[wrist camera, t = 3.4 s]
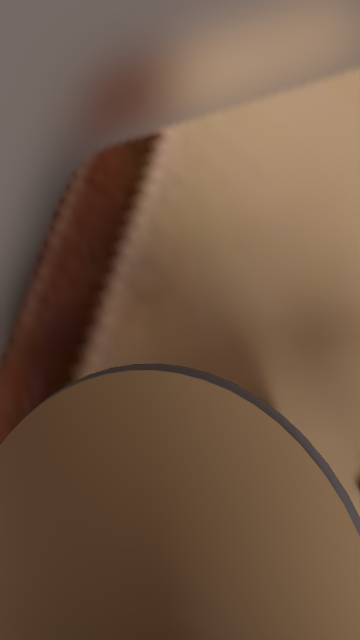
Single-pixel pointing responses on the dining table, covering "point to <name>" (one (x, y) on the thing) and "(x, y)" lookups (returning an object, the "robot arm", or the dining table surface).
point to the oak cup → (171, 517)
